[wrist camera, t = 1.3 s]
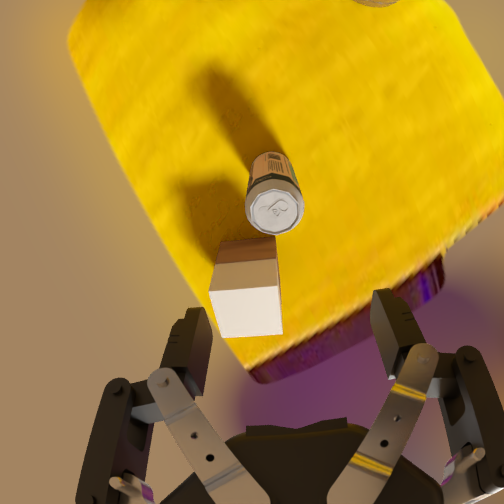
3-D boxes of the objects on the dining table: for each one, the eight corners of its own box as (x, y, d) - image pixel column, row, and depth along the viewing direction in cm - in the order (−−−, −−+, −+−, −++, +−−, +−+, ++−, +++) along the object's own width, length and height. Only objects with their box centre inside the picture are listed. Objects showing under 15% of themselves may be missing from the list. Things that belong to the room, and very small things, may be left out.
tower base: (220, 241, 38) (215, 262, 34) (275, 236, 38) (276, 257, 33) (230, 284, 42) (226, 308, 38) (279, 280, 41) (281, 304, 37)
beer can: (242, 168, 33) (231, 209, 23) (273, 142, 31) (279, 170, 21) (269, 198, 35) (271, 250, 25) (300, 173, 33) (317, 216, 23)
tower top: (215, 264, 34) (208, 291, 30) (276, 258, 33) (277, 285, 29) (226, 309, 38) (222, 337, 33) (281, 305, 37) (282, 334, 33)
